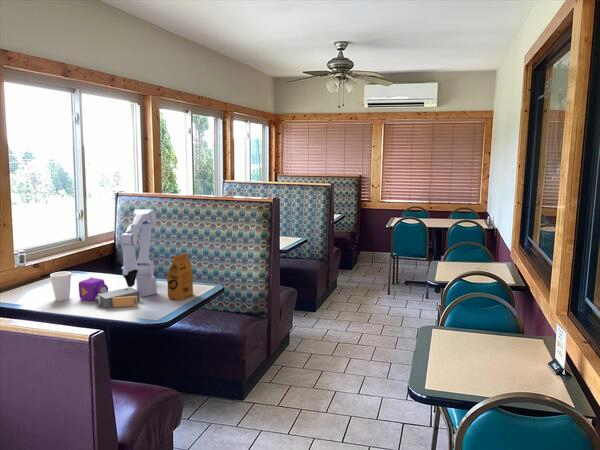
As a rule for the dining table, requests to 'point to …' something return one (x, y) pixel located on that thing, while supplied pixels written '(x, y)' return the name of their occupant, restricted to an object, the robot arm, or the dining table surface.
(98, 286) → the toy camera
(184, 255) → the coffee package
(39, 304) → the dining table surface
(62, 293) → the foam cup
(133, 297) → the door
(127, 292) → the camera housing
